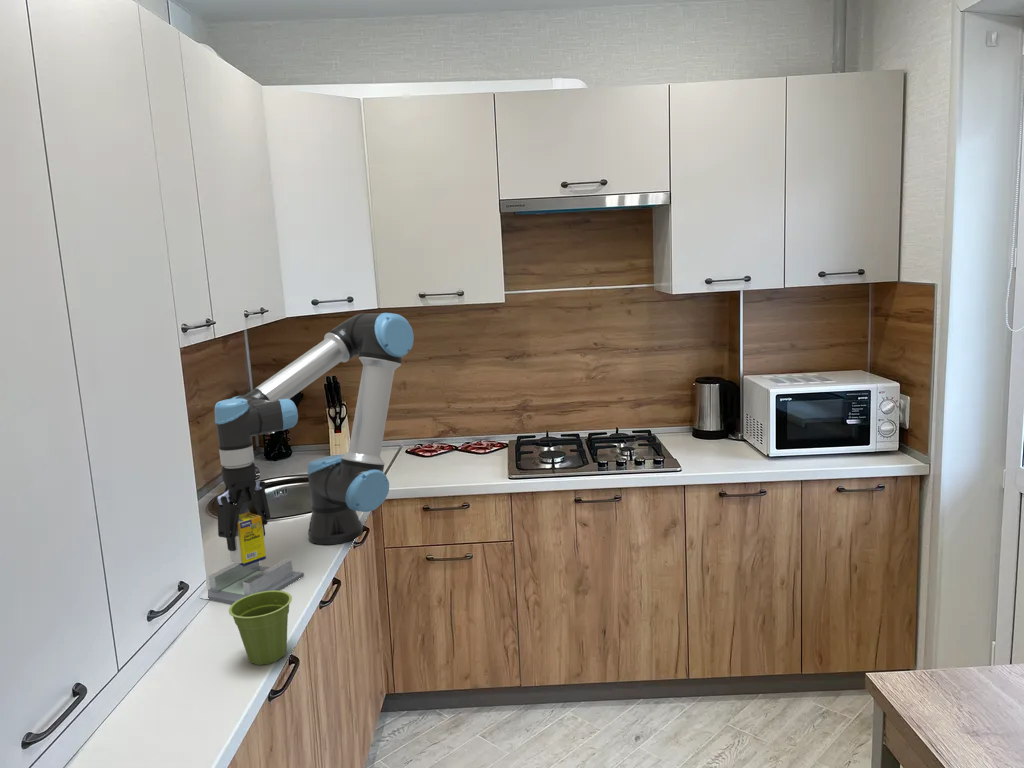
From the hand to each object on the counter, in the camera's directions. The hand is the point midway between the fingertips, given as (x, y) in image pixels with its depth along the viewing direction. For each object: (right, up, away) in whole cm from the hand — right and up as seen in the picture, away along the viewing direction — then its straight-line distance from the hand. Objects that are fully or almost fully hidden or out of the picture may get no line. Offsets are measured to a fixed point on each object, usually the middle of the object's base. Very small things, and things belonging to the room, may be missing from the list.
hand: (248, 556), depth 179 cm
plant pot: (+15, -13, -32) cm, 38 cm away
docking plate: (+1, -8, +1) cm, 8 cm away
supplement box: (0, -1, 0) cm, 1 cm away
